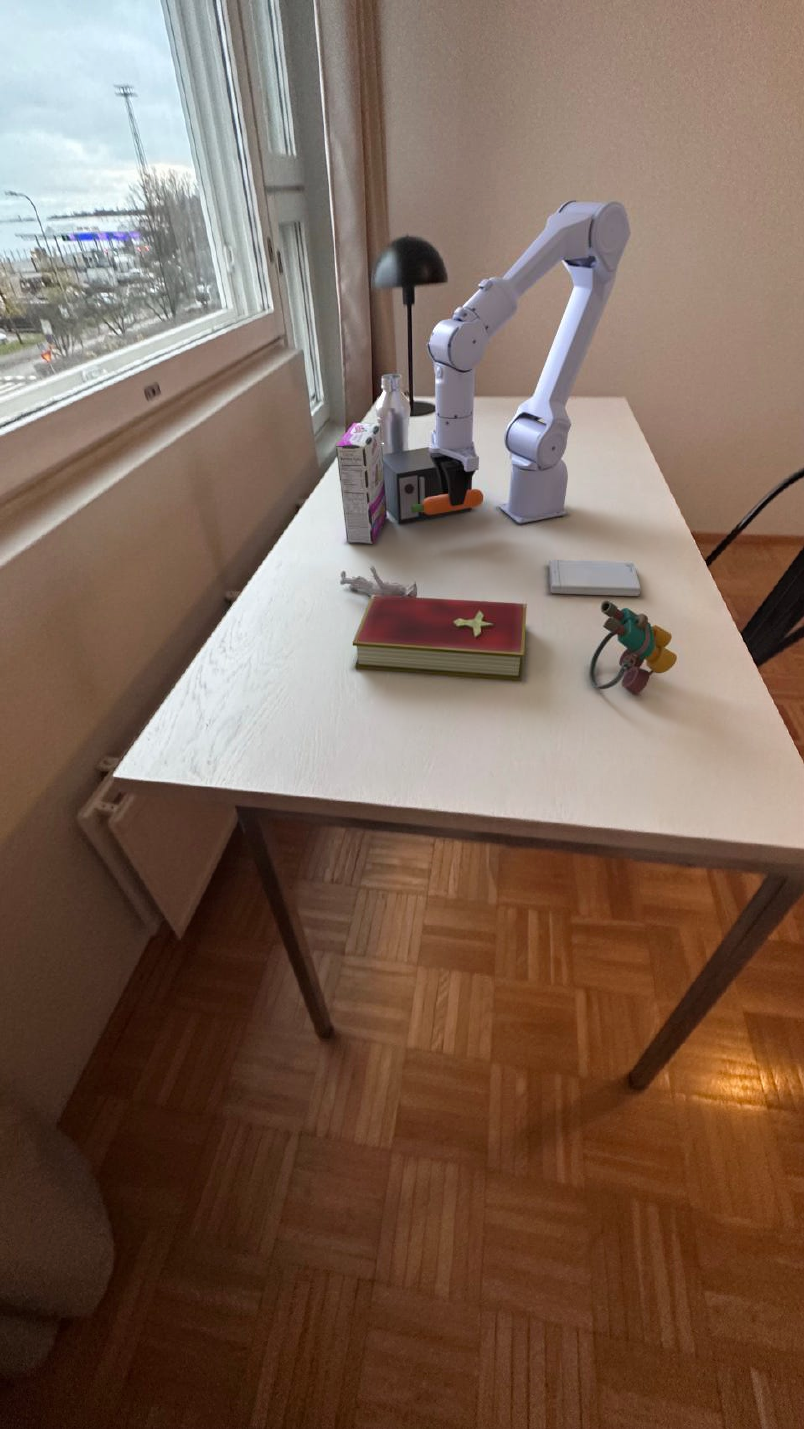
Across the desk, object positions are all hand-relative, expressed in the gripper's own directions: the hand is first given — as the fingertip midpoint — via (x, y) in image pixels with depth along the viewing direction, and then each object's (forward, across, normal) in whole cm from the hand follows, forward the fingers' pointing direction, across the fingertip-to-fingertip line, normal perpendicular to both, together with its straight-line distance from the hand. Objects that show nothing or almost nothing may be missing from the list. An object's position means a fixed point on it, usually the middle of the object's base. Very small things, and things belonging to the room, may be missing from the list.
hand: (453, 500), depth 104 cm
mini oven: (+6, -13, 0) cm, 14 cm away
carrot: (+2, 0, 0) cm, 2 cm away
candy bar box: (+6, -8, -13) cm, 17 cm away
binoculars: (+6, +45, +4) cm, 46 cm away
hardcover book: (+6, +30, -14) cm, 34 cm away
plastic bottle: (+6, -24, -2) cm, 25 cm away
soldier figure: (+6, +15, -18) cm, 24 cm away
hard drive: (+6, +23, +13) cm, 27 cm away
